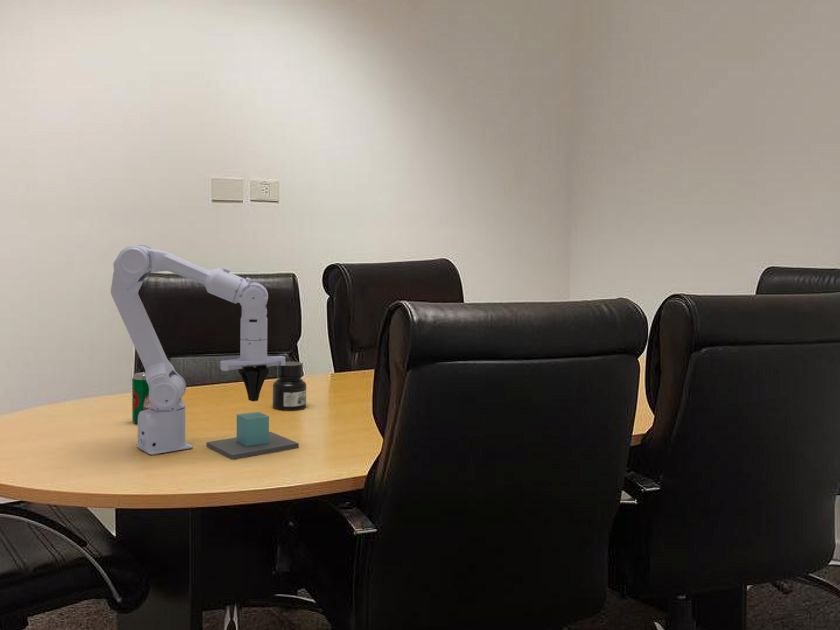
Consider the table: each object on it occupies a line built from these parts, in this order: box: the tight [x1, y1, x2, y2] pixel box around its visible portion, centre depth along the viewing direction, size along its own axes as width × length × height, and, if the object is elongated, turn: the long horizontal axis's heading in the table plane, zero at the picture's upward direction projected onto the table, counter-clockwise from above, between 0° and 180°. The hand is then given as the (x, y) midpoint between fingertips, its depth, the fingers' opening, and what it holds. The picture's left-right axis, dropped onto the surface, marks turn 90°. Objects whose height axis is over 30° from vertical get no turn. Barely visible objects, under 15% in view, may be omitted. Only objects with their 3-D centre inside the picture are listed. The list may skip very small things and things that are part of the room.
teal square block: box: [236, 411, 270, 447], centre depth 171 cm, size 5×5×6 cm
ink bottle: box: [272, 361, 307, 411], centre depth 211 cm, size 10×9×12 cm
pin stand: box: [206, 431, 300, 460], centre depth 171 cm, size 16×12×6 cm
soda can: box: [131, 371, 151, 425], centre depth 190 cm, size 5×5×12 cm
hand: (253, 400), depth 171 cm, fingers closed
